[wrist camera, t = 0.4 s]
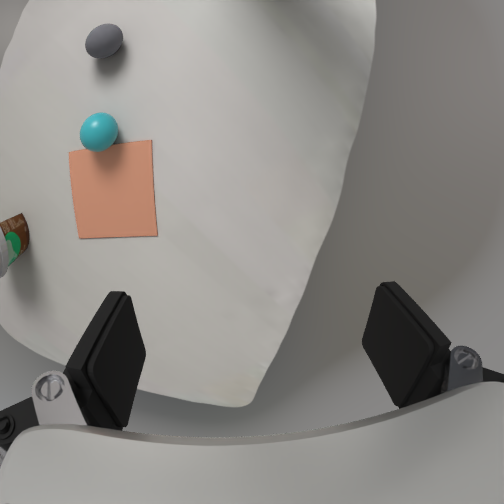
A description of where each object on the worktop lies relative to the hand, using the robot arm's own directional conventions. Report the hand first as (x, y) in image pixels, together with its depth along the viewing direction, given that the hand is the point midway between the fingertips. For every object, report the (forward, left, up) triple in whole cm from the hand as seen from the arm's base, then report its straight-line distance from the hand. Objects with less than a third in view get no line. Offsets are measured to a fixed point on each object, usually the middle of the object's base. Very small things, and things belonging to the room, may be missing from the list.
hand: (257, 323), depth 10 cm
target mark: (0, -19, -30) cm, 35 cm away
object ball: (-9, -19, -27) cm, 34 cm away
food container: (+7, -41, -30) cm, 51 cm away
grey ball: (-23, -19, -27) cm, 40 cm away
